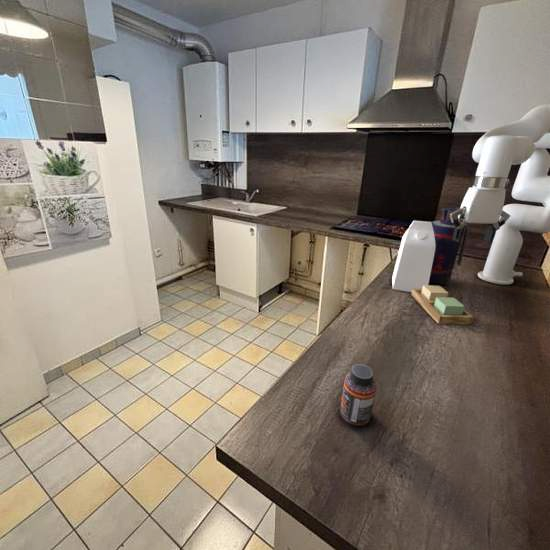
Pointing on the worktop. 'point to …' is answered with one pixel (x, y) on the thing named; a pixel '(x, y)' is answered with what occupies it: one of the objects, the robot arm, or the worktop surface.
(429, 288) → the tan block
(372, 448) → the worktop surface
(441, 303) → the green block
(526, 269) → the worktop surface
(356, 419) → the supplement bottle
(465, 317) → the divided wooden tray
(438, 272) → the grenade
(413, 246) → the milk
